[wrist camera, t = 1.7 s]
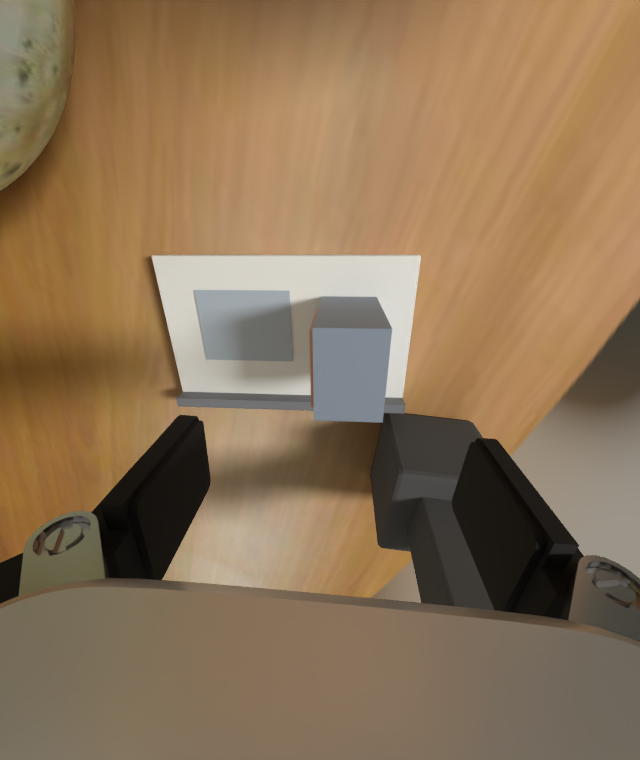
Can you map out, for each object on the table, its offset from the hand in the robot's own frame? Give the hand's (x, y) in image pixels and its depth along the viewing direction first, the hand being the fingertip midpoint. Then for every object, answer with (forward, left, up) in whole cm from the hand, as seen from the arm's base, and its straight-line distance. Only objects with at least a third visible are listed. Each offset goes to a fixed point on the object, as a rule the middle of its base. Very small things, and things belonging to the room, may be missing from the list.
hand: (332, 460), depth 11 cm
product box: (-1, +2, -20) cm, 20 cm away
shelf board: (+5, +2, -22) cm, 23 cm away
